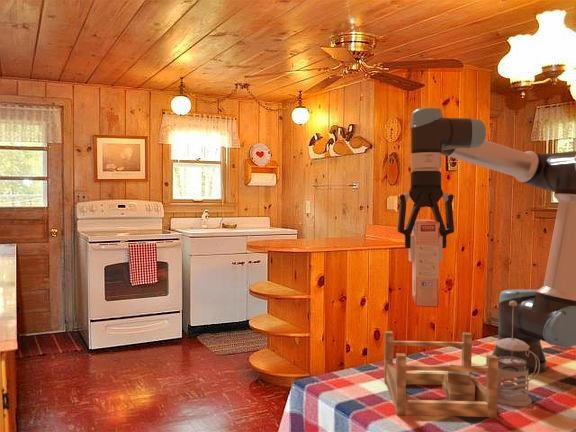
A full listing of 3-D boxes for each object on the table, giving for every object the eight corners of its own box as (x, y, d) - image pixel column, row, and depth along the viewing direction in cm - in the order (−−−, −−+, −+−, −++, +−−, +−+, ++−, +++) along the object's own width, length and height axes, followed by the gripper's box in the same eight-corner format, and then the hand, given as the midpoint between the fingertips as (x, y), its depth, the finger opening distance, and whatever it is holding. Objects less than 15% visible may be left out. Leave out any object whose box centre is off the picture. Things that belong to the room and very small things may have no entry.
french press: (484, 390, 137) (486, 296, 136) (529, 391, 137) (531, 297, 136) (498, 405, 127) (500, 304, 126) (546, 406, 127) (549, 305, 126)
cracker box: (440, 308, 126) (440, 221, 125) (414, 307, 127) (414, 221, 126) (434, 296, 139) (434, 218, 139) (411, 296, 141) (411, 218, 140)
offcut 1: (469, 376, 135) (470, 366, 135) (468, 385, 129) (469, 375, 129) (449, 373, 137) (449, 364, 137) (447, 382, 130) (448, 372, 130)
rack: (468, 383, 142) (469, 332, 142) (496, 417, 121) (498, 357, 120) (384, 381, 144) (384, 331, 143) (396, 414, 122) (397, 355, 121)
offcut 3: (465, 392, 138) (465, 382, 137) (474, 405, 129) (474, 395, 129) (442, 391, 138) (442, 382, 138) (449, 404, 129) (450, 395, 129)
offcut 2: (467, 383, 137) (467, 374, 137) (474, 395, 129) (475, 385, 129) (444, 382, 137) (444, 373, 137) (450, 394, 130) (450, 384, 129)
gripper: (389, 170, 128) (389, 263, 129) (469, 169, 128) (468, 263, 129) (385, 171, 136) (384, 259, 137) (460, 170, 135) (459, 259, 136)
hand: (425, 260), depth 133 cm, fingers closed on cracker box, 6 cm apart
